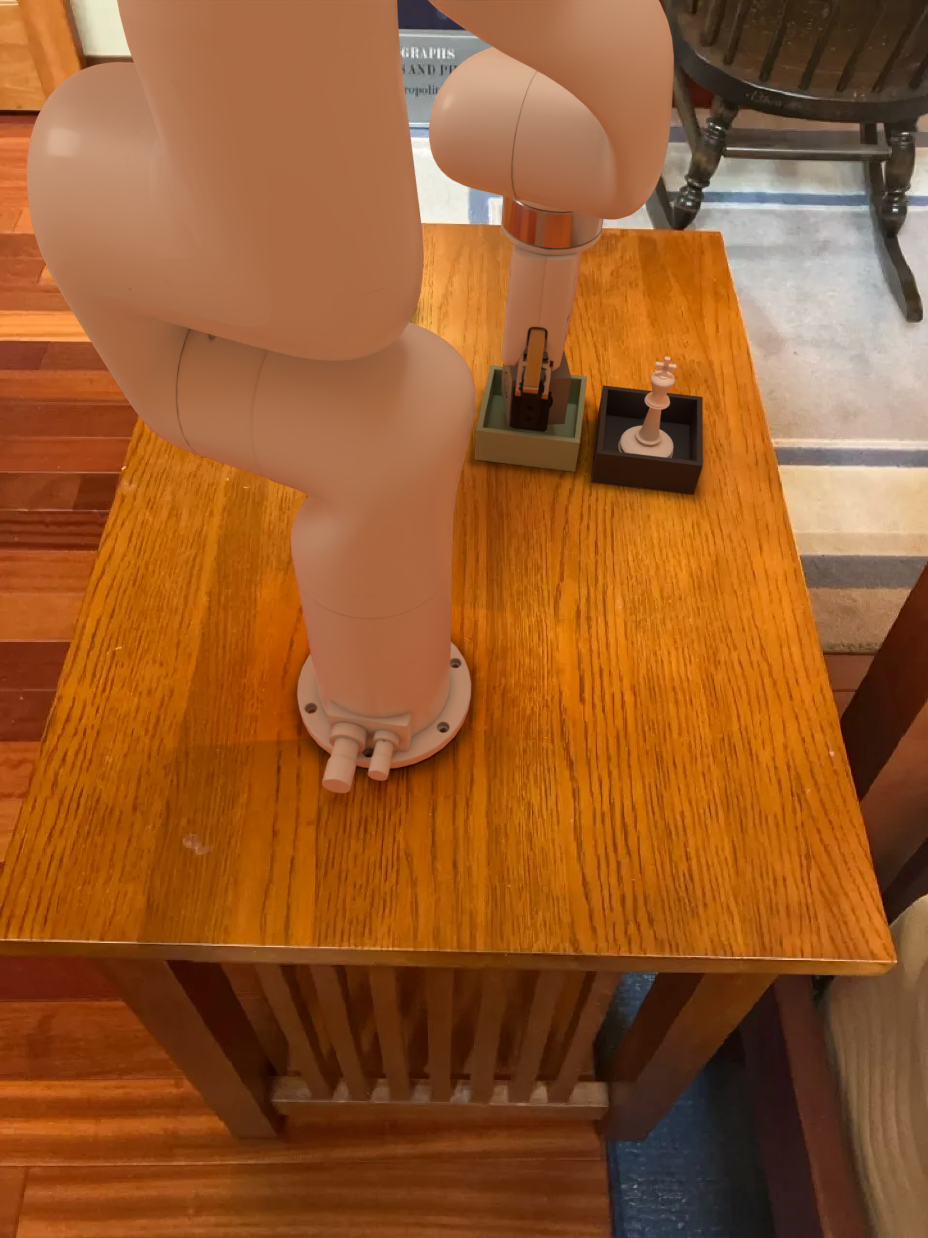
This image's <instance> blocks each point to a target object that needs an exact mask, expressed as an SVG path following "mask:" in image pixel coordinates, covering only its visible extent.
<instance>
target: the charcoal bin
mask: <svg viewBox="0 0 928 1238" xmlns="http://www.w3.org/2000/svg"><path fill="white" fill-rule="evenodd" d="M650 392H652V390H647V389H638V388H630V387H622V386H613V385H602V389H601V394H600V399H599V400H600V401H599V405H598V412H597V418H596V430H595V439H594V447H593V448H594V450H593V459H592V460H593V461H592V468H591V469H592V470H591V481H590V482H591V483H596V484H603V485H604V484H605V485H613V486H620V487H629V488H637V489H645V490H653V491H660V492H661V491H662V492H671V493H676V494H686V495H695V493H696V489H697V485H698V483H699V480H700V476H701V473H702V469H703V467H704V434H703V431H704V427H703V426H704V423H703V421H704V418H703V417H704V416H703V415H704V414H703V413H704V412H703V411H704V410H703V408H704V407H703V405H704V404H703V403H704V402H703V401H704V397H703V396H700V395H699V396H698V395H691V394H682V393H674V392H668V393H667V394H666V395H667V396H668V397H669V400H670V404H669V406H668V407H667V408H665V409H662V410H661V415H660V426H659V429H660V430H662V431H664V432H665V433H666V434H667V435H668V436H669V437H670V438H671V440H672V442H673V456H672V458H666V457H658V456H650V455H641V454H633V453H625V452H619V449H618V444H619V441H620V439H621V436H622V435H623V433H624V432H625V431H626V430H628V429H630V428H632V427H636V426H643V423H644V421H645V418H646V416H647V413H648V410H649V408H650V407H649V406H647V405H646V403H645V397H646V396H647V394H648V393H650Z"/></svg>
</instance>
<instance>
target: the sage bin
mask: <svg viewBox="0 0 928 1238" xmlns="http://www.w3.org/2000/svg"><path fill="white" fill-rule="evenodd" d="M502 370H503V366H501V365H493V364H492V365H491V364H490V365H489V369H488V373H487V379H486V383H485V387H484V392H483V398H482V402H481V406H480V412H479V416H478V419H477V425H476V429H475V451H474V455H475V456H474V459H475V461H482V462H490V463H491V462H492V463H500V464H507V465H516V466H523V467H531V468H539V469H548V470H557V471H562V472H563V471H564V472H573V473H575V472H576V470H577V469H576V468H577V464H578V458H579V452H580V444H581V437H582V428H583V420H584V419H583V418H584V411H585V410H584V409H585V400H586V393H587V392H586V391H587V382H588V376H587V375H578V374H571V384H570V391H569V398H568V405H567V412H566V418H565V424H555V425H547V430H546V431H544V432H540V431H531V430H523V429H515V428H512V427H508V423H507V418H506V412H505V407H504V402H503V397H502V392H501V384H502Z"/></svg>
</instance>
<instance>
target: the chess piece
mask: <svg viewBox="0 0 928 1238" xmlns="http://www.w3.org/2000/svg"><path fill="white" fill-rule="evenodd" d="M670 362H671V356H666V355H665V357H664V359H663V362H662V361H655V365H654V370H655V371H654V372H653V373H652V374H651V375H650V377H649V378H650V384H651V391H652V392H650V393H648V394H647V396H646V397H645V403H646V405H647V406H649V407H650V408H649V410H648V413H647V416H646V418H645V421H644V423H643V426H636V427H632V428H630V429H628V430H626V431H625V432H624V433H623V435H622V436H621V439H620V441H619V444H618V449H619V452H625V453H633V454H641V455H650V456H658V457H666V458H672V456H673V442H672V440H671V438H670V437H669V436H668V435H667V434H666V433H665V432H664V431H662V430H660V429H659V426H660V415H661V410H662V409H665V408H667V407H668V406H669V404H670V400H669V397H668V396H667V395H666V394H667V393H669V391H670V389H671V388H672V387H673V385H674V384H675V382H676V378H675V376H674V375H673V373H676V371H677V364H676V363H670ZM671 372H672V373H671Z"/></svg>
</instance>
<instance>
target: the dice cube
mask: <svg viewBox="0 0 928 1238" xmlns="http://www.w3.org/2000/svg"><path fill="white" fill-rule="evenodd" d="M527 353H528V351H525V353H524V356H527ZM543 358H545V359H548V354H547V353H543ZM502 367H503V370H502V384H501V392H502V397H503V402H504V407H505V412H506V418H507V423H508V427H511V426H510V420H511V408H512V397H513V388H514V387H516V380H517V371H518V362H517V363H516V365H515V366H511V365H508V366H506V365H504V364H503V363H502ZM525 369H526V367H525ZM544 374H545V370H543V369H541V375H540V381H543V382H544ZM571 375H572V374H571V371H570V368H569V364H568V359H567V356H566V352H565V350H564V351H563V355H562V359H561V363H560V366H559V367H558V368H557V369H555V370H554V371H552V370H551V378H550V385H549V391H550V392H552V394H551V402H550V410H549V418H548V425H555V424H565V418H566V412H567V405H568V398H569V391H570V384H571ZM524 376H525V370H524ZM523 379H524V378H523Z"/></svg>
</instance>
